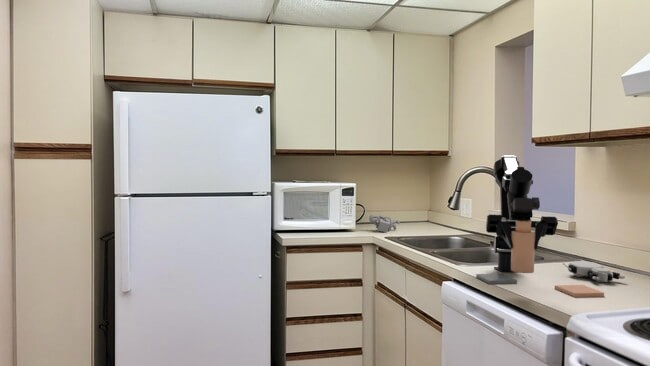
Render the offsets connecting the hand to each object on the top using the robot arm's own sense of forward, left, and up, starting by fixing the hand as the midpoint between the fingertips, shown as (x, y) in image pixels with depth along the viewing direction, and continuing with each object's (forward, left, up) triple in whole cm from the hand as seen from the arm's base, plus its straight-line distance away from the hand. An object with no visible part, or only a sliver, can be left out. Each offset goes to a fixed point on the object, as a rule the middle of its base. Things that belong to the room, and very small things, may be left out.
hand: (523, 248), depth 129 cm
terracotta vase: (-1, +1, -7) cm, 7 cm away
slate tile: (-18, +2, -13) cm, 23 cm away
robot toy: (-18, +35, -14) cm, 42 cm away
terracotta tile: (-2, +19, -13) cm, 23 cm away
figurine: (-136, -5, -14) cm, 137 cm away
